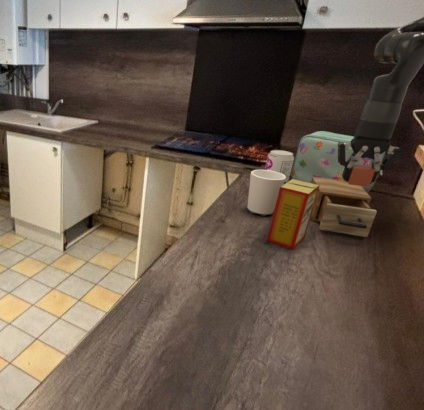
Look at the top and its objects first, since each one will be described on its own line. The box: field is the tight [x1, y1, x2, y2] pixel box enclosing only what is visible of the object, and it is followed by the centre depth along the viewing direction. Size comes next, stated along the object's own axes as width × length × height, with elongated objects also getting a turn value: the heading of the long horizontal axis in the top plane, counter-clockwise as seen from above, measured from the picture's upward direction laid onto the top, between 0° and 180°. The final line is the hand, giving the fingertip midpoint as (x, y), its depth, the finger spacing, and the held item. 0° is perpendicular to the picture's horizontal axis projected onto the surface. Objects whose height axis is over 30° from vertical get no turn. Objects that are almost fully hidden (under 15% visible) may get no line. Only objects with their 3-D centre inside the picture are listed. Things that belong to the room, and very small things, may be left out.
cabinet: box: [310, 177, 372, 223], centre depth 112 cm, size 15×13×10 cm
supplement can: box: [264, 149, 295, 184], centre depth 128 cm, size 8×8×15 cm
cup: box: [247, 169, 286, 217], centre depth 112 cm, size 10×10×13 cm
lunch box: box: [291, 130, 386, 194], centre depth 130 cm, size 27×10×21 cm, turn 34°
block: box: [348, 164, 375, 187], centre depth 97 cm, size 5×5×5 cm
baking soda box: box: [266, 178, 320, 250], centre depth 95 cm, size 10×6×16 cm
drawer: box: [317, 194, 378, 238], centre depth 102 cm, size 18×11×8 cm, turn 158°
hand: (356, 181), depth 98 cm, fingers closed on block, 4 cm apart
